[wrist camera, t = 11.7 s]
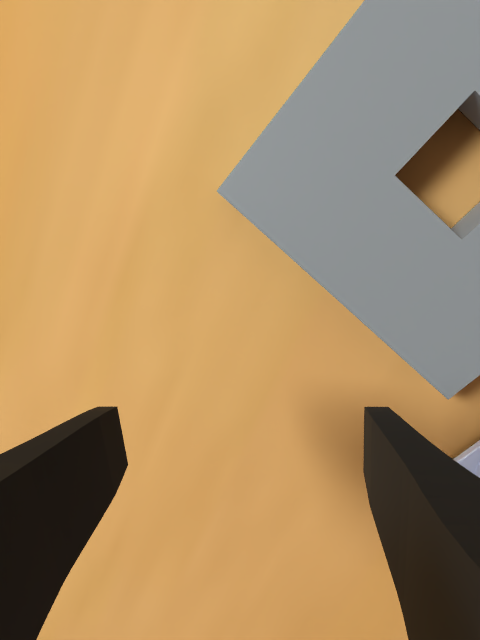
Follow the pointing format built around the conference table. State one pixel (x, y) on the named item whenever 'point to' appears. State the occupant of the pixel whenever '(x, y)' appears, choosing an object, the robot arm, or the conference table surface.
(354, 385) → the conference table surface
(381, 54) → the cover plate
